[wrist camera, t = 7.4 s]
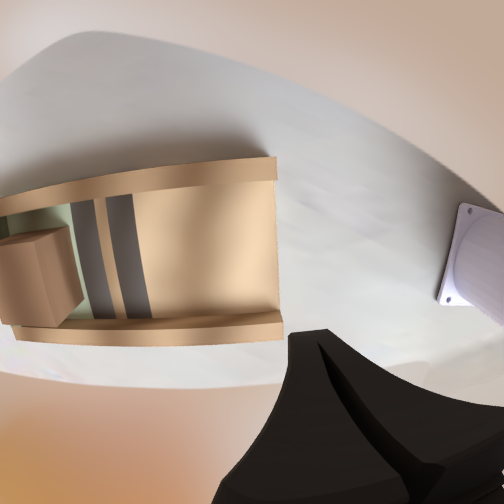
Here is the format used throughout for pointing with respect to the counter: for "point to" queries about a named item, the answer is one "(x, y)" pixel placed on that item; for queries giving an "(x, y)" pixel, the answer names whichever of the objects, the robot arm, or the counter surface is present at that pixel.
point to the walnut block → (38, 278)
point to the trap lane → (164, 254)
